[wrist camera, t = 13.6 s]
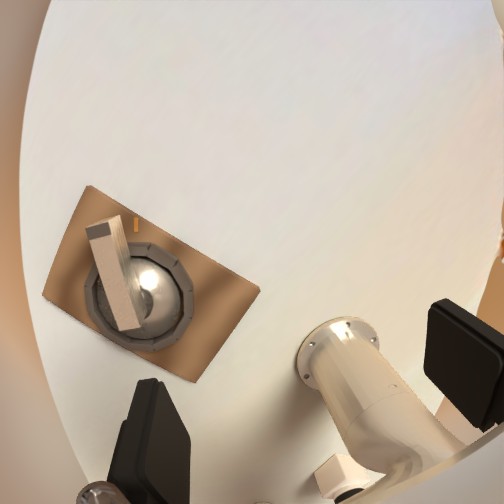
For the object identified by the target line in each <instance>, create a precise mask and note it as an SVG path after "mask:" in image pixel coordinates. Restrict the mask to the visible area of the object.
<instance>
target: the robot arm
mask: <svg viewBox="0 0 504 504" xmlns="http://www.w3.org/2000/svg"><path fill="white" fill-rule="evenodd" d="M423 368H424V372H425V375H426V376H427V377H428V378H429V379H430V380H431V381H432V382H433V383H434V384H435V385H436V386H437V387H438V389H439V390H440V391H441V392H442V393H443V394H444V395H445V396H446V397H447V398H448V399H449V400H450V401H451V402H452V403H453V405H454V406H455V407H456V408H457V409H458V410H459V411H460V412H461V413H462V414H463V415H464V416H465V418H466V419H467V420H468V421H469V422H470V423H471V424H472V425H473V426H474V427H475V428H479V429H480V430H481V431H482V432H483V433H484V432H485V431H487V430H488V429H490V428H491V427H492V426H494V424H495V422H496V423H497V424H498V426H497V427H496V428H494V429H493V430H491V431H490V432H489V433H487V434H486V435H484V436H483V437H481V438H480V439H478V440H477V441H475V442H474V443H472V444H471V445H469V446H467V445H465V444H464V443H463V442H462V441H460V440H459V439H458V438H457V437H455V436H454V435H453V434H452V433H451V432H450V431H448V430H447V429H446V428H445V427H444V426H443V425H442V424H441V423H440V422H439V421H438V420H437V419H436V418H435V416H434V415H433V414H432V413H431V412H430V411H429V410H428V408H427V407H426V406H425V405H424V404H423V402H422V401H421V400H420V399H419V398H418V397H417V395H416V394H415V393H414V392H413V391H412V389H411V388H410V387H409V386H408V385H407V383H406V382H405V381H404V380H403V379H402V378H401V376H400V375H399V374H398V373H397V372H396V371H395V369H394V368H393V367H392V366H391V365H390V364H389V362H388V361H387V360H386V359H385V358H384V357H383V355H382V354H381V353H380V352H379V338H378V336H377V333H376V331H375V330H374V329H373V327H372V326H371V325H370V324H368V323H367V322H366V321H364V320H362V319H359V318H356V317H340V318H337V319H333V320H331V321H328V322H326V323H324V324H323V325H321V326H319V327H318V328H316V329H315V330H314V331H313V332H312V333H311V334H310V335H309V336H308V337H307V338H306V340H305V341H304V343H303V344H302V346H301V348H300V351H299V353H298V358H297V369H298V372H299V375H300V377H301V379H302V380H303V382H304V383H305V384H306V385H307V386H309V387H310V388H312V389H314V390H317V391H320V393H321V395H322V397H323V400H324V402H325V404H326V406H327V408H328V410H329V412H330V414H331V416H332V419H333V421H334V423H335V425H336V427H337V429H338V431H339V433H340V436H341V438H342V440H343V442H344V444H345V446H346V448H347V450H348V452H349V454H350V455H351V457H352V458H353V459H354V461H355V462H357V463H358V464H359V465H361V466H362V467H364V468H366V469H369V470H372V471H375V472H379V473H383V474H387V475H385V476H384V477H383V478H381V479H380V480H378V481H377V482H375V484H373V485H371V486H370V487H368V488H366V489H364V490H363V491H361V492H359V493H357V494H355V495H354V496H352V497H350V498H348V499H346V500H344V501H342V502H340V503H338V504H504V335H503V334H501V333H500V332H498V331H497V330H495V329H494V328H492V327H491V326H489V325H487V324H486V323H485V322H483V321H482V320H480V319H479V318H477V317H475V316H474V315H472V314H471V313H469V312H468V311H466V310H465V309H463V308H461V307H460V306H458V305H457V304H455V303H454V302H452V301H450V300H449V299H447V298H445V299H442V300H439V301H437V302H434V303H433V304H432V305H431V308H430V309H429V311H428V322H427V336H426V348H425V357H424V367H423ZM190 453H191V441H190V437H189V434H188V432H187V430H186V428H185V426H184V424H183V422H182V420H181V418H180V416H179V414H178V412H177V410H176V408H175V406H174V404H173V402H172V400H171V398H170V396H169V393H168V391H167V389H166V387H165V385H164V383H163V382H162V381H160V382H158V380H157V379H156V378H151V379H144V380H139V381H138V383H137V386H136V389H135V393H134V396H133V400H132V403H131V406H130V410H129V413H128V417H127V420H124V421H123V423H122V425H121V428H120V432H119V435H118V439H117V443H116V446H115V450H114V454H113V458H112V461H111V465H110V469H109V473H108V477H107V481H97V482H93V483H90V484H88V485H87V486H85V487H84V488H83V489H82V490H81V491H80V492H79V494H78V496H77V500H76V504H190Z"/></svg>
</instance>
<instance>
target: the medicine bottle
mask: <svg viewBox="0 0 504 504" xmlns="http://www.w3.org/2000/svg"><path fill="white" fill-rule="evenodd" d="M314 475H315V478H316V481H317V484H318V487H319V490H320V493H321V495H322V498H329V499H334V502H335V504H338V503H340V502H342V501H344V500H346V499H348V498H350V497H352V496H354V495H355V494H357V493H359V492H361V491H363V490H364V488H363V487H364V486H365V485H367V484H368V483H369V482H370V478H369V476H368V474H367V472H366V470H365V468H364V467H362V466H361V465H359V464H358V463H357V462H355V461H354V459H353V458H352V457H351V456H347V455H341V454H334V455H333V456H332V457H331V458H330V459H329V460H328V461H327V462H326V463H325V464H323V465H322V466H321V467H320V468H319V469H318V470H316V471H315V472H314Z"/></svg>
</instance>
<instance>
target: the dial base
mask: <svg viewBox="0 0 504 504" xmlns="http://www.w3.org/2000/svg"><path fill="white" fill-rule="evenodd" d="M117 215H120V218H121V222H122V226H123V230H124V234H125V237H126V241H127V245H128V248H129V252H130V256H146V257H149V258H151V259H152V260H154V261H156V262H157V263H159V264H161V265H162V266H164V267H166V268H168V269H169V270H170V271H171V273H172V274H173V276H174V278H175V279H176V281H177V283H178V285H179V288H180V292H181V304H180V309H179V313H178V316H177V319H176V321H175V323H174V324H173V325H172V327H171V328H170V329H169V330H168V331H166V332H165V333H164V334H162V335H160V336H157V337H154V338H150V339H137V338H132V337H129V336H126V335H124V334H122V333H120V332H119V331H117V330H116V329H115V328H113V327H112V326H111V325H110V324H109V323H108V321H107V320H106V319H105V317H104V316H103V314H102V312H101V310H100V307H99V304H98V297H97V292H98V285H99V282H100V279H101V277H100V274H99V271H98V268H97V265H96V261H95V258H94V255H93V251H92V248H91V244H90V241H88V237H87V234H86V230H85V228H86V227H87V226H89V225H91V224H93V223H95V222H97V221H99V220H103V219H106V218H110V217H114V216H117ZM259 293H260V288H259V287H258V286H257V285H255V284H253V283H252V282H250V281H248V280H246V279H245V278H243V277H241V276H239V275H238V274H236V273H234V272H233V271H231V270H229V269H228V268H226V267H224V266H222V265H221V264H219V263H217V262H216V261H214V260H212V259H211V258H209V257H207V256H205V255H204V254H202V253H200V252H199V251H197V250H195V249H194V248H192V247H190V246H189V245H187V244H185V243H184V242H182V241H180V240H179V239H177V238H175V237H174V236H172V235H170V234H169V233H167V232H166V231H164V230H162V229H161V228H159V227H157V226H156V225H154V224H152V223H151V222H149V221H147V220H146V219H144V218H143V217H141V216H139V215H138V214H136V213H134V212H133V211H131V210H130V209H128V208H126V207H125V206H123V205H122V204H120V203H118V202H117V201H115V200H114V199H112V198H110V197H109V196H107V195H106V194H104V193H102V192H101V191H99V190H98V189H96V188H94V187H93V186H86V188H85V190H84V192H83V194H82V196H81V198H80V200H79V203H78V205H77V207H76V209H75V211H74V213H73V216H72V218H71V220H70V222H69V225H68V227H67V229H66V232H65V234H64V236H63V239H62V241H61V244H60V246H59V249H58V251H57V254H56V256H55V259H54V262H53V264H52V267H51V270H50V273H49V275H48V278H47V281H46V284H45V287H44V290H43V293H42V296H44V297H45V298H46V299H48V300H49V301H51V302H52V303H54V304H55V305H57V306H58V307H59V308H61V309H62V310H64V311H65V312H67V313H68V314H70V315H72V316H73V317H75V318H76V319H78V320H79V321H81V322H82V323H84V324H86V325H87V326H89V327H90V328H92V329H94V330H95V331H97V332H99V333H100V334H102V335H104V337H106V338H108V339H109V340H111V341H113V342H115V343H116V344H118V345H120V346H122V347H123V348H125V349H128V350H130V351H132V352H133V353H135V354H137V355H139V356H141V357H143V358H145V359H147V360H148V361H150V362H152V363H154V364H156V365H158V366H160V367H162V368H164V369H166V370H168V371H170V372H172V373H174V374H176V375H178V376H180V377H183V378H185V379H187V380H189V381H191V382H193V383H196V382H197V380H198V379H199V378H200V376H201V375H202V373H203V372H204V371H205V369H206V368H207V367H208V365H209V364H210V362H211V361H212V360H213V358H214V357H215V355H216V354H217V353H218V351H219V350H220V348H221V347H222V346H223V344H224V343H225V341H226V340H227V339H228V337H229V336H230V334H231V333H232V332H233V330H234V329H235V327H236V326H237V324H238V323H239V322H240V320H241V319H242V317H243V316H244V314H245V313H246V312H247V310H248V309H249V307H250V306H251V304H252V303H253V302H254V300H255V299H256V297H257V296H258V294H259Z"/></svg>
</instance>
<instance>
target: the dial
mask: <svg viewBox="0 0 504 504" xmlns="http://www.w3.org/2000/svg"><path fill="white" fill-rule="evenodd" d="M85 230H86V234H87V237H88V241H90V244H91V248H92V251H93V255H94V258H95V261H96V265H97V268H98V271H99V274H100V277H101V279H100V282H99V285H98V292H97V297H98V304H99V307H100V310H101V312H102V314H103V316H104V317H105V319H106V320H107V321H108V323H109V324H110V325H111V326H112V327H113V328H115V329H116V330H117V331H119V332H120V333H122V334H124V335H126V336H129V337H132V338H137V339H150V338H154V337H157V336H160V335H162V334H164V333H165V332H166V331H168V330H169V329H170V328H171V327H172V325H173V324H174V323H175V321H176V319H177V316H178V313H179V309H180V304H181V292H180V288H179V285H178V283H177V281H176V279H175V278H174V276H173V274H172V273H171V271H170V270H169V269H168V268H166V267H164V266H162V265H161V264H159V263H157V262H156V261H154V260H152V259H151V258H149V257H146V256H130V252H129V248H128V245H127V241H126V237H125V234H124V230H123V226H122V222H121V218H120V215H117V216H114V217H110V218H106V219H103V220H99V221H97V222H95V223H93V224H91V225H89V226H87V227H86V228H85Z"/></svg>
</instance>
